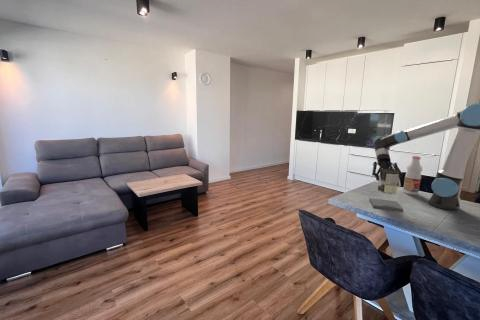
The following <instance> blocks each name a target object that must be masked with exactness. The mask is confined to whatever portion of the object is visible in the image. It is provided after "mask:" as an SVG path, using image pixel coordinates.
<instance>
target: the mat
mask: <svg viewBox="0 0 480 320" xmlns="http://www.w3.org/2000/svg"><path fill="white" fill-rule="evenodd" d="M369 202H370V204H371V206H372V208H375V209H381V210H389V211H396V212H404V208H403V206H401V204H400V203H399V202H398V201H396V200H390V199H382V198H374V197H373V198H371V197H369Z"/></svg>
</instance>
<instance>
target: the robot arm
mask: <svg viewBox="0 0 480 320" xmlns="http://www.w3.org/2000/svg"><path fill="white" fill-rule="evenodd" d="M456 128H457V134H455V138H454V140H453V143H452V145H451V148H450V150H449V152H448V154H447V157H446V160H445V161H444V163H443V167H442V169H440V170H438V171H437V172H436V175H435V178H434V180H433V181H432V182H431V190H432V192H433V194H432V195H431V196H430V198H429V199H428V204H429V205H431V206H432V207H435V208H437V209H441V210H446V211H459V210H460V208H461V206H460V201H459V200H460V199H459V194H460V191H461V190H460V188H461V184H462V182H463V179H464V176H463V174H462V173H463V171H464V169H465V166H466V164H467V162H468V160H469V157H470V155H471V153H472V150H473V149H474V147H475V143H476V142H477V140H478V137H479V135H480V103H479V102H478V103H472V104H469V105H467V106H465V107H464V108H462V110H461V111H458V112H456V113H455V114H454V115H451V116H448V117H444V118H441V119H438V120H435V121H432V122H429V123H426V124H421V125H419V126H414V128H413V127H412V128H410V129H407V130H398V131H396V132H394V133H391V134H389V135H387V136H383V135H379V136H375V137H374V138H373V140H372V142H373V143H372V144H373V147H374V153H375V156H376V161H374V162H372V165H373V168H372V174H371V175H372V176H374V177H375V179H376V181H377V182H378V184H379V186H381V185H382V182H381V177H380V169H394V170H397V171H399V172H400V173H399V177H398V183H397V188H400V187H401V186H402V185H401V181H402V179H401V178H402V177H403V176H404V174H403V172H402V171H401V169H400V168H399V166H398V162H392V161H391V157H390V152H389V148H391V147H394V146H396V145H400V144H403V143H406V142H407V143H408V142H410V141H413V140H416V139H420V138H424V137H428V136H431V135H434V134H439V133H441V132H445V131H449V130H452V129H456ZM377 166H379V168H378V169H377Z"/></svg>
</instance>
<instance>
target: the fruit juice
mask: <svg viewBox="0 0 480 320" xmlns="http://www.w3.org/2000/svg"><path fill="white" fill-rule="evenodd" d="M411 158H412V159H411V161H410V163H408V165H407V166H406V172H405V176H404V183H403V187H402V188H403V189H402V193H404V194H406V195H412V196H417V195H418V194H419V190H420V185H421V180H422V171H423V167H422V165H421V163H420V162H421V161H420V160H421V158H422V157H421V156H418V155H417V156H416V155H413V156H412V157H411Z"/></svg>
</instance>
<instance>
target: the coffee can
mask: <svg viewBox="0 0 480 320" xmlns="http://www.w3.org/2000/svg"><path fill="white" fill-rule="evenodd" d="M399 173H400V172H399V171H397V170H394V169H380V173H379V175H380V177H381V182H382V185H381V186H379V183H378V184H377V185H378V186H377V191H378V193H382V194H385V195H396V194H397V188H398V187H397V183H398V177H399Z"/></svg>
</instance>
